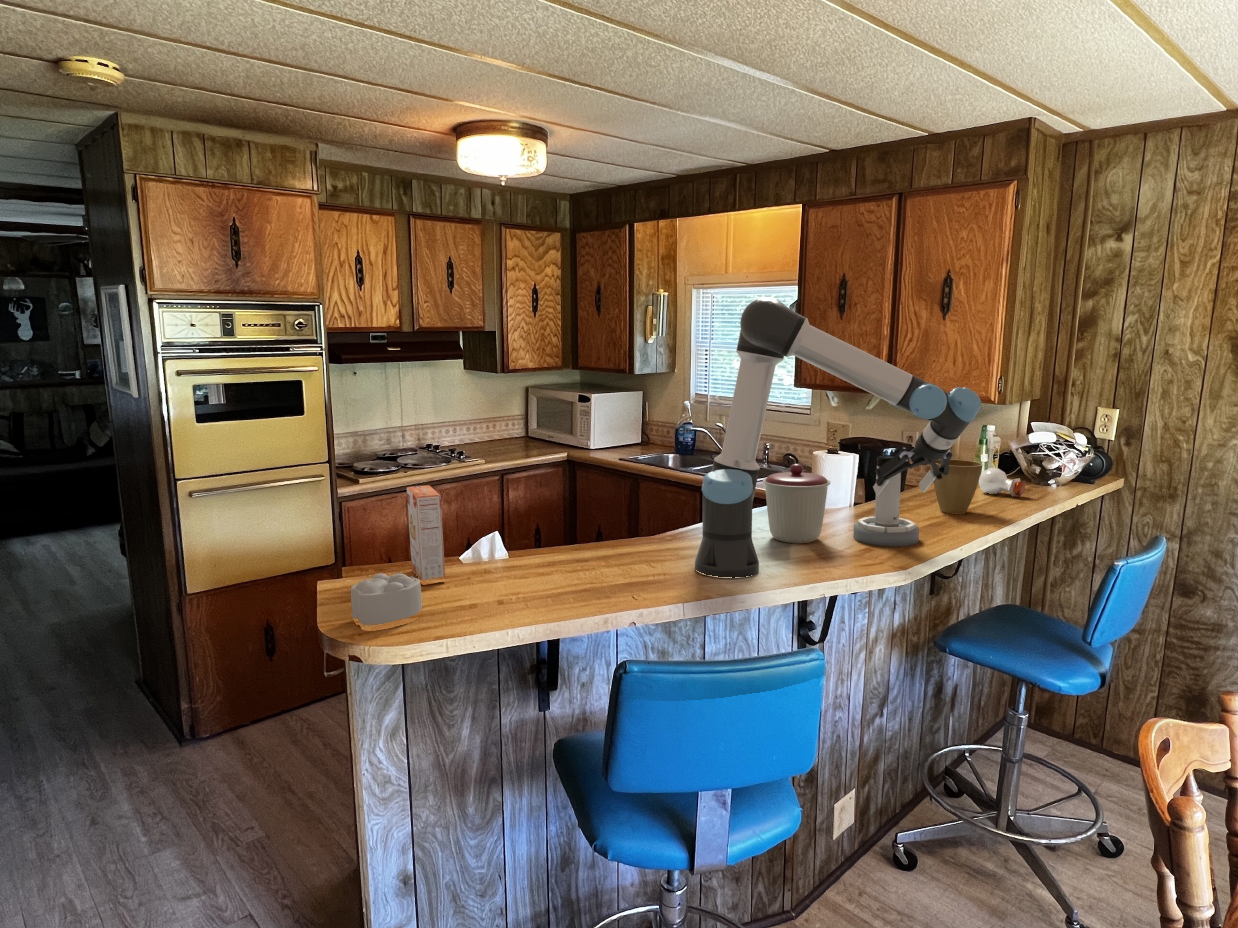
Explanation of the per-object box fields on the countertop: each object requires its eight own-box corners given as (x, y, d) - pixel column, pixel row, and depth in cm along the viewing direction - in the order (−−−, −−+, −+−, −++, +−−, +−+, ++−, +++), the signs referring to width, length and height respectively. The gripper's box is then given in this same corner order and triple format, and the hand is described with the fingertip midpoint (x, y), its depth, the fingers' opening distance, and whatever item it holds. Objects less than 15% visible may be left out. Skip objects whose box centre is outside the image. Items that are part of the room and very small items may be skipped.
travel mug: (901, 529, 207) (904, 455, 204) (876, 528, 208) (878, 455, 206) (898, 524, 213) (901, 452, 210) (873, 523, 215) (875, 452, 212)
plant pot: (949, 518, 236) (951, 466, 233) (919, 508, 250) (921, 460, 248) (990, 515, 239) (993, 464, 237) (959, 506, 254) (961, 458, 251)
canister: (750, 534, 218) (751, 461, 215) (806, 529, 224) (807, 457, 221) (782, 550, 201) (784, 470, 198) (842, 543, 207) (844, 466, 204)
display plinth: (866, 547, 203) (867, 529, 202) (844, 532, 219) (845, 516, 219) (929, 545, 203) (930, 528, 203) (903, 530, 220) (903, 514, 220)
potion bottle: (979, 495, 279) (1019, 506, 267) (969, 482, 274) (1009, 493, 261) (991, 473, 280) (1031, 484, 268) (981, 460, 275) (1022, 470, 263)
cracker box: (410, 571, 186) (405, 486, 183) (435, 568, 189) (431, 484, 186) (419, 586, 174) (414, 496, 171) (446, 583, 176) (441, 493, 173)
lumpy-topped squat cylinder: (348, 619, 153) (345, 577, 152) (410, 605, 161) (408, 565, 160) (367, 634, 145) (364, 590, 144) (431, 619, 153) (429, 577, 152)
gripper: (897, 453, 183) (861, 504, 200) (987, 449, 189) (945, 498, 205) (885, 429, 188) (851, 480, 204) (974, 425, 193) (934, 476, 210)
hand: (898, 489), depth 205 cm, fingers open, 13 cm apart
